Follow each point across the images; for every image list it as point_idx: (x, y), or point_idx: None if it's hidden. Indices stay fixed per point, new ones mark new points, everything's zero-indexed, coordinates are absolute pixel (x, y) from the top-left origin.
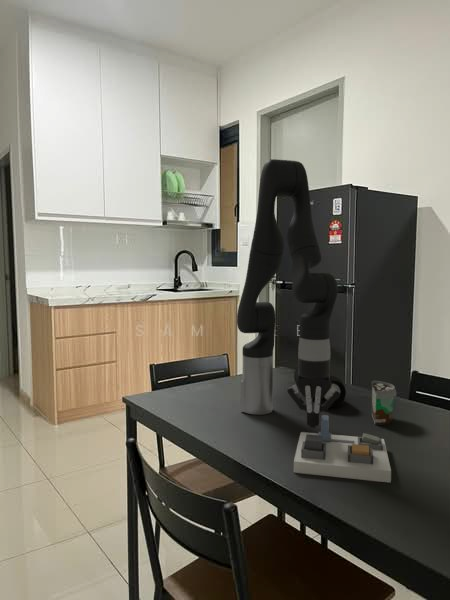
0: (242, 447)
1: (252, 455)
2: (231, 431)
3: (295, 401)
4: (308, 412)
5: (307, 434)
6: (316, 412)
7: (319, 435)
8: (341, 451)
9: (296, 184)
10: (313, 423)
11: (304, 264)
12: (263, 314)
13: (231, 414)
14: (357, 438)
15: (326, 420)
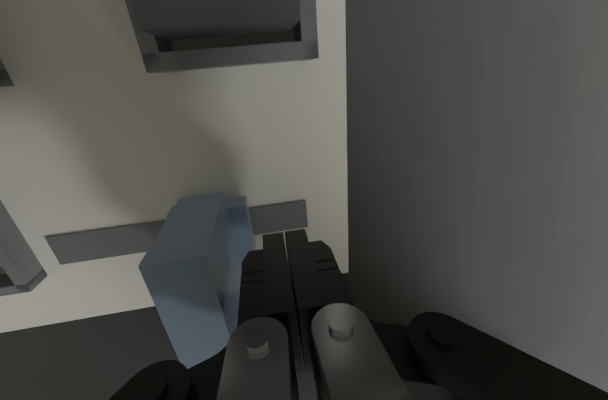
0: (565, 105)
1: (535, 23)
2: (581, 238)
3: (591, 394)
4: (344, 305)
5: (291, 17)
6: (258, 326)
7: (172, 28)
8: (61, 88)
9: None
10: (280, 247)
11: None
12: None
13: (559, 350)
14: (64, 302)
15: (163, 284)
